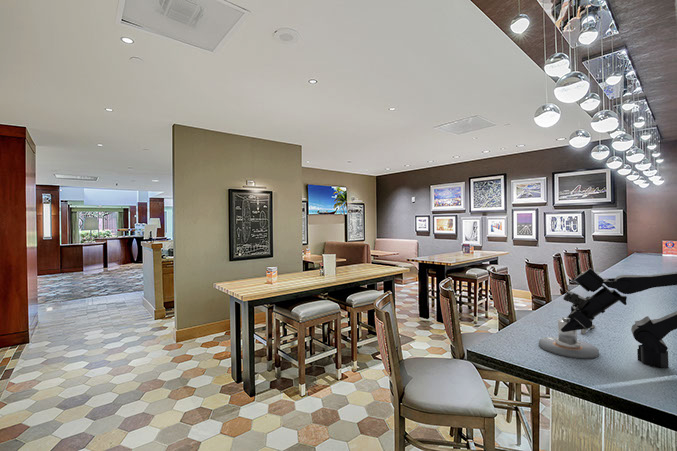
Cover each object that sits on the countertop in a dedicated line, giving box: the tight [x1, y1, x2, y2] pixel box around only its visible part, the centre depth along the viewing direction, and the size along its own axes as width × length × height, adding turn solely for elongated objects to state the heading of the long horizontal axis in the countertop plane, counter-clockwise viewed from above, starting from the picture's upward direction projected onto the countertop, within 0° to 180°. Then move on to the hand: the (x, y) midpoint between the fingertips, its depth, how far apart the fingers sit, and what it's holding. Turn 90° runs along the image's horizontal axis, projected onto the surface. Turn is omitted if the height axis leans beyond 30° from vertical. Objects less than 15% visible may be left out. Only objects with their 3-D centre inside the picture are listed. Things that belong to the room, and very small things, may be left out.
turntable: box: [538, 336, 600, 359], centre depth 116 cm, size 18×18×1 cm
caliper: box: [580, 323, 596, 335], centre depth 138 cm, size 20×1×6 cm, turn 130°
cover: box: [555, 316, 581, 349], centre depth 116 cm, size 8×8×10 cm
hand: (562, 327), depth 117 cm, fingers open, 9 cm apart
